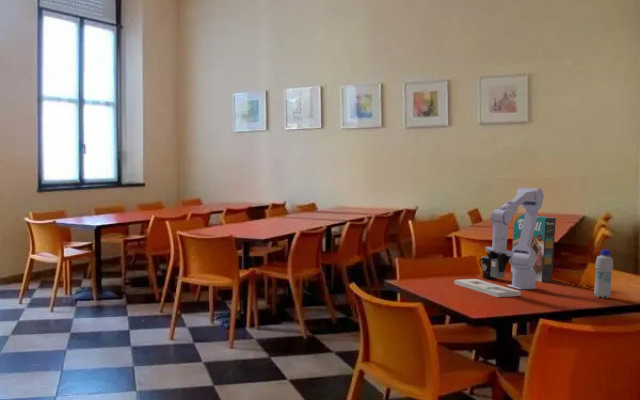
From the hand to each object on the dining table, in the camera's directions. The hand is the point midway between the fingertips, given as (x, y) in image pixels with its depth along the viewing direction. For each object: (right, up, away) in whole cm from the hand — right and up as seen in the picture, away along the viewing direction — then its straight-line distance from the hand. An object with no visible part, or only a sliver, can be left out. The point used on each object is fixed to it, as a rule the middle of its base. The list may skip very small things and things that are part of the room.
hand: (497, 271), depth 256 cm
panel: (-3, -9, +6) cm, 11 cm away
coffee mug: (+6, -8, +36) cm, 37 cm away
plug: (0, -3, 0) cm, 3 cm away
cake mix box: (+28, -8, +43) cm, 52 cm away
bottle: (+44, -11, +1) cm, 45 cm away
